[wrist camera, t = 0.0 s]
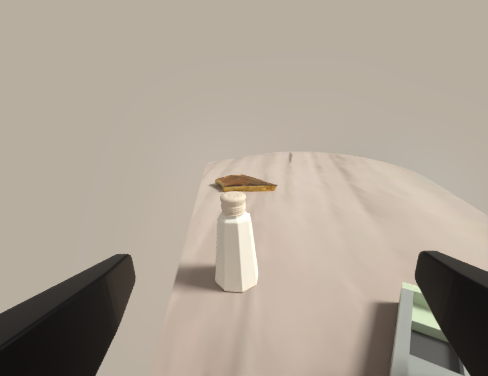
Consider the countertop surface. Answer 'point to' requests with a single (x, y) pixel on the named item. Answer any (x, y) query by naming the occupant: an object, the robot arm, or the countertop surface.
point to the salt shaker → (235, 245)
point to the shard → (243, 184)
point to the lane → (421, 340)
